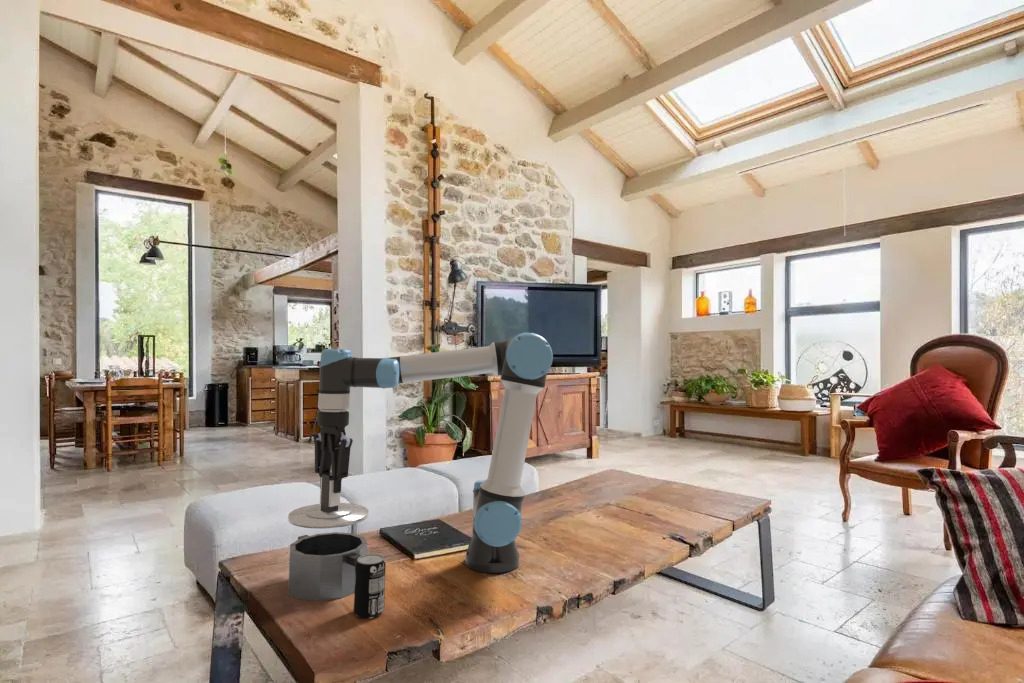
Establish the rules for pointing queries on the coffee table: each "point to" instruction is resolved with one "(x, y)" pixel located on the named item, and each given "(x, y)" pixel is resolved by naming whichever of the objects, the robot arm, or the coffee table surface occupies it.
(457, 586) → the coffee table surface
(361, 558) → the beverage can
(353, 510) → the lid
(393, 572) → the coffee table surface
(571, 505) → the coffee table surface
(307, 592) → the pot
